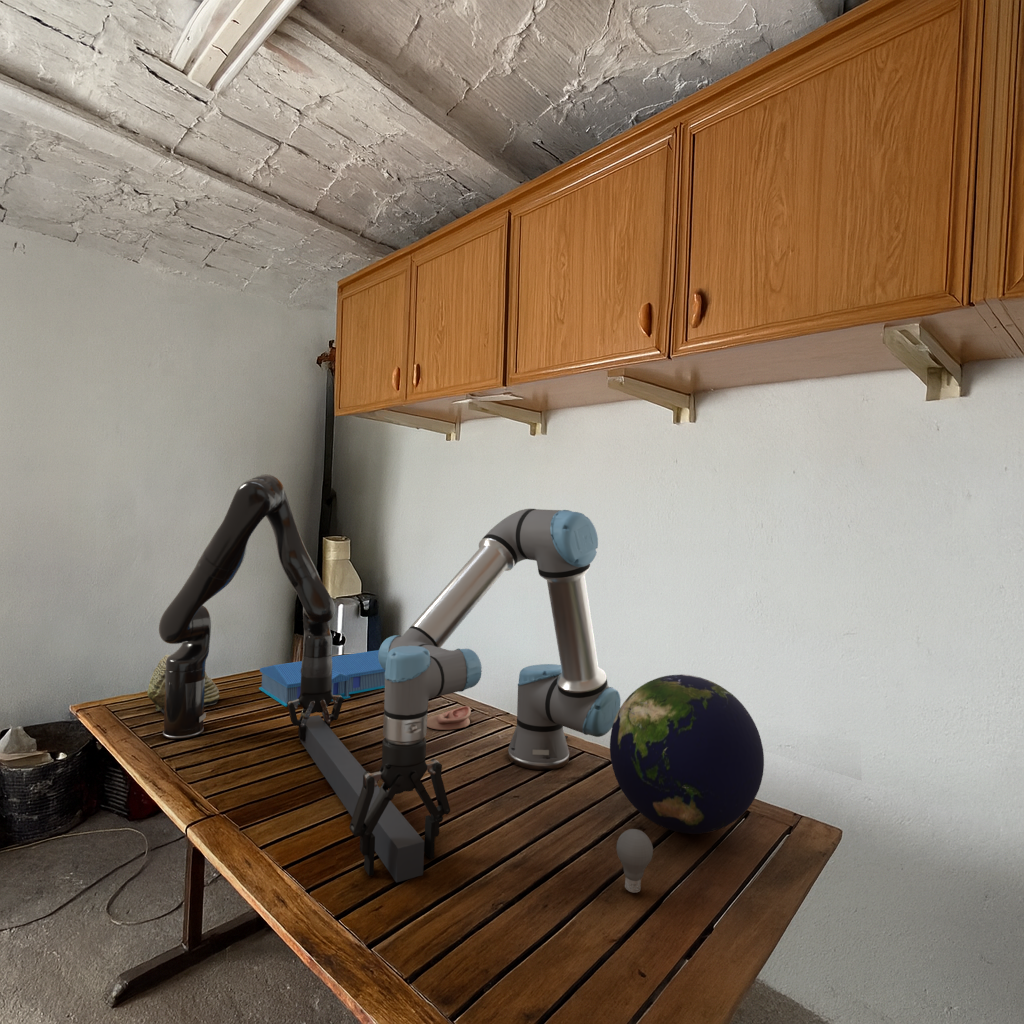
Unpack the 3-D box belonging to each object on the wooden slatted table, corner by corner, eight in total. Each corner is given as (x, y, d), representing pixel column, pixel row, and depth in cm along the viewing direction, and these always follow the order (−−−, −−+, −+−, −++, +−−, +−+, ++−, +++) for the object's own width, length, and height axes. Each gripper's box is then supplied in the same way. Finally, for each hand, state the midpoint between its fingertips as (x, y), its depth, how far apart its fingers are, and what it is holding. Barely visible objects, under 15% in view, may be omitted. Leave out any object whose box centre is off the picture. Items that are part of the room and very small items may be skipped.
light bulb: (610, 879, 108) (613, 822, 108) (644, 879, 109) (647, 822, 109) (619, 902, 102) (622, 840, 102) (655, 901, 103) (658, 840, 103)
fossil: (144, 707, 182) (145, 655, 182) (212, 696, 194) (213, 647, 194) (151, 716, 175) (153, 662, 175) (221, 703, 188) (223, 653, 188)
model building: (289, 709, 186) (291, 675, 185) (258, 688, 204) (259, 657, 204) (403, 687, 212) (405, 657, 212) (366, 670, 230) (368, 643, 230)
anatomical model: (417, 713, 176) (431, 700, 187) (417, 727, 176) (430, 714, 187) (463, 718, 173) (474, 705, 184) (463, 733, 173) (473, 719, 184)
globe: (589, 842, 120) (597, 685, 120) (623, 780, 148) (629, 652, 147) (758, 884, 109) (767, 711, 108) (760, 808, 137) (767, 670, 136)
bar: (299, 739, 164) (300, 717, 164) (318, 737, 166) (319, 715, 166) (396, 882, 105) (397, 848, 105) (423, 875, 108) (424, 841, 108)
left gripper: (290, 679, 154) (288, 748, 154) (349, 673, 161) (346, 739, 161) (284, 671, 160) (281, 738, 160) (340, 665, 167) (337, 729, 168)
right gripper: (346, 756, 101) (340, 893, 101) (473, 734, 113) (467, 856, 113) (332, 740, 107) (327, 869, 108) (454, 720, 119) (449, 836, 120)
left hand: (314, 738), depth 161 cm, fingers closed on bar, 5 cm apart
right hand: (399, 862), depth 111 cm, fingers open, 10 cm apart
